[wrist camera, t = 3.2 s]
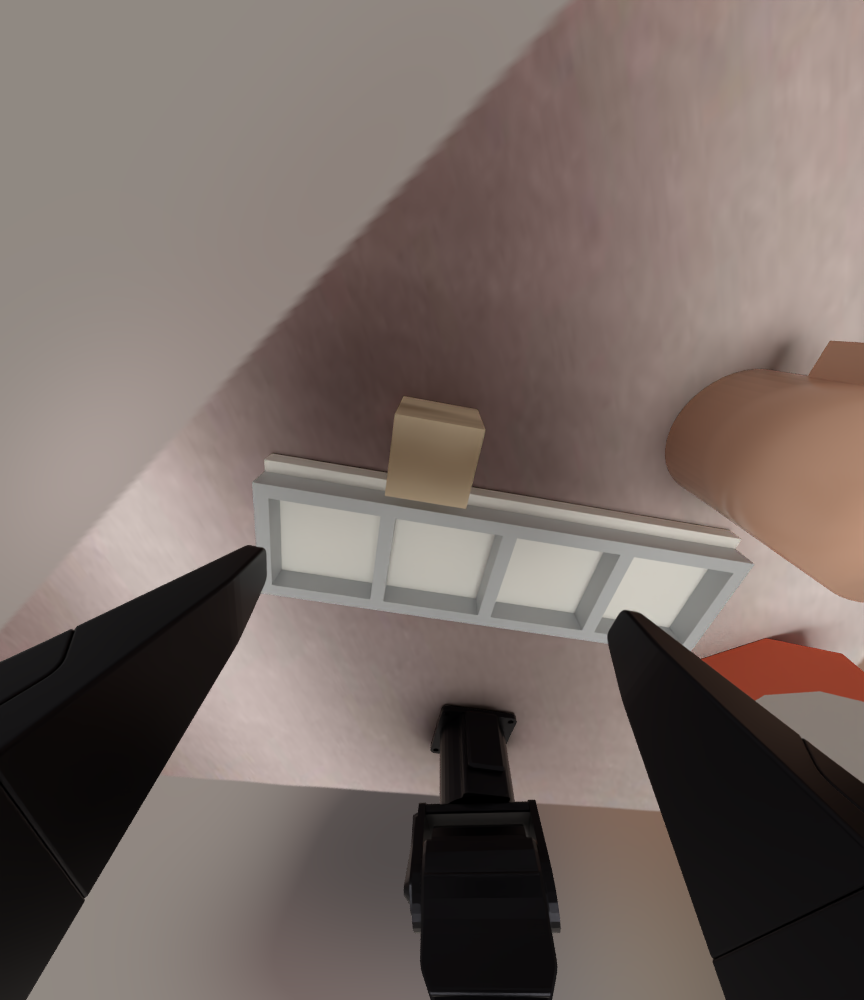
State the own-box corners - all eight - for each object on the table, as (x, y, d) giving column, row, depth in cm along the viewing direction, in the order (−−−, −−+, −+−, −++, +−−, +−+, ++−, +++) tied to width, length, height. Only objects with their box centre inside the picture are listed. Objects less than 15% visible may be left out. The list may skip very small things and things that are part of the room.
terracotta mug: (755, 503, 21) (946, 615, 13) (643, 483, 21) (770, 587, 13) (855, 353, 17) (1210, 383, 9) (721, 325, 17) (971, 333, 9)
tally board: (662, 632, 26) (682, 662, 24) (276, 575, 24) (259, 601, 22) (729, 530, 22) (762, 554, 20) (272, 453, 20) (251, 470, 18)
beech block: (461, 476, 21) (466, 509, 17) (394, 465, 21) (384, 495, 17) (477, 409, 19) (485, 429, 16) (403, 395, 19) (394, 414, 15)
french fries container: (814, 662, 27) (1352, 1158, 11) (668, 705, 30) (931, 1153, 14) (807, 624, 25) (1432, 1147, 9) (653, 673, 28) (934, 1144, 12)
